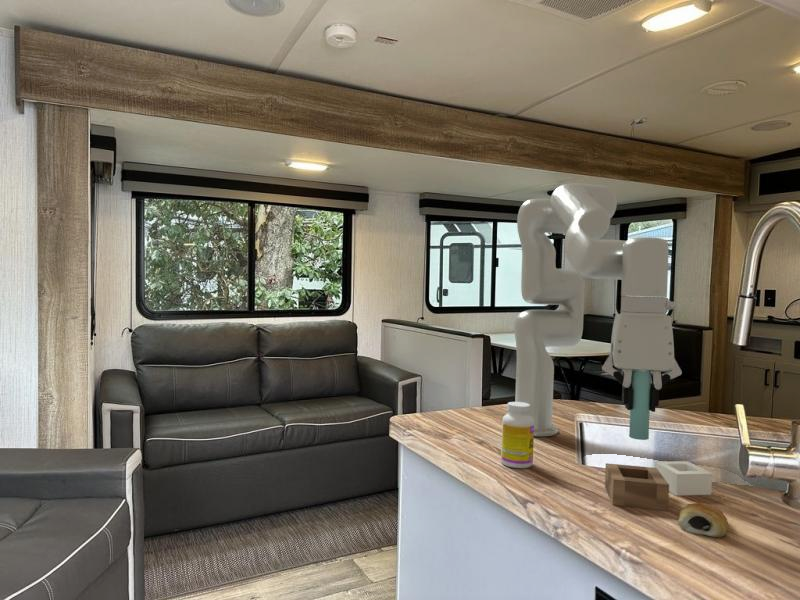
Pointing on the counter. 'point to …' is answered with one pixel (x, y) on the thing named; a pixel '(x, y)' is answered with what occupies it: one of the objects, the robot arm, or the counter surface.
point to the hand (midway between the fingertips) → (639, 408)
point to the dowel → (640, 405)
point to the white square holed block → (685, 478)
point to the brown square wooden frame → (636, 487)
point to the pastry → (703, 520)
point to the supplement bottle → (517, 436)
